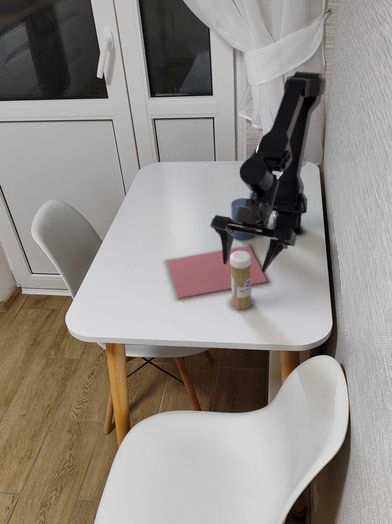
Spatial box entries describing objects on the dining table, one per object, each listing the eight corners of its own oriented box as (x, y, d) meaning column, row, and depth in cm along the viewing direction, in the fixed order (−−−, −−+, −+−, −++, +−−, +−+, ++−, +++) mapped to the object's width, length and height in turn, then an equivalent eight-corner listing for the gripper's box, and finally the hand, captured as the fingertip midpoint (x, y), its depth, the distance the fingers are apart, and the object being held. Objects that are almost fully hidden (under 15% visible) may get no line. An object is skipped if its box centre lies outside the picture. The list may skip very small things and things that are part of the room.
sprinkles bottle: (246, 311, 123) (245, 263, 113) (228, 306, 125) (226, 258, 115) (254, 300, 125) (254, 252, 116) (237, 295, 127) (235, 247, 118)
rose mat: (249, 247, 141) (249, 245, 141) (267, 282, 130) (267, 281, 130) (168, 261, 139) (167, 260, 139) (178, 298, 128) (178, 297, 128)
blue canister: (250, 226, 149) (250, 196, 143) (256, 237, 145) (256, 207, 138) (229, 229, 148) (228, 200, 142) (235, 241, 144) (234, 211, 138)
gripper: (211, 181, 115) (193, 252, 116) (295, 194, 108) (275, 269, 109) (226, 197, 125) (210, 262, 126) (304, 210, 119) (286, 278, 119)
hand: (243, 268), depth 120 cm, fingers open, 9 cm apart
